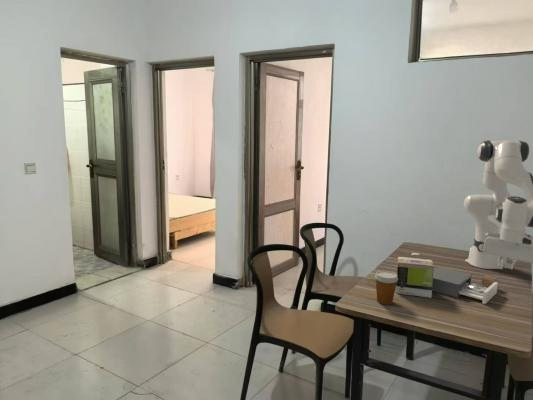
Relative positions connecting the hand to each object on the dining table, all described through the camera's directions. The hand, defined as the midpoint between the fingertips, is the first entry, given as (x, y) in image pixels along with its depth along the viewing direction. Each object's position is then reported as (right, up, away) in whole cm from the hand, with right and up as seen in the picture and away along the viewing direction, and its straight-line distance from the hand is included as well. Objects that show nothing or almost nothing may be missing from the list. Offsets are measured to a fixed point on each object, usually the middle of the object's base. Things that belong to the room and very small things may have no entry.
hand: (508, 268), depth 169 cm
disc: (-8, -12, +10) cm, 18 cm away
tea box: (-35, -13, +13) cm, 40 cm away
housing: (-17, -12, +19) cm, 28 cm away
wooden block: (+2, -13, +18) cm, 22 cm away
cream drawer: (-9, -13, +11) cm, 20 cm away
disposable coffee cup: (-51, -15, +2) cm, 54 cm away
